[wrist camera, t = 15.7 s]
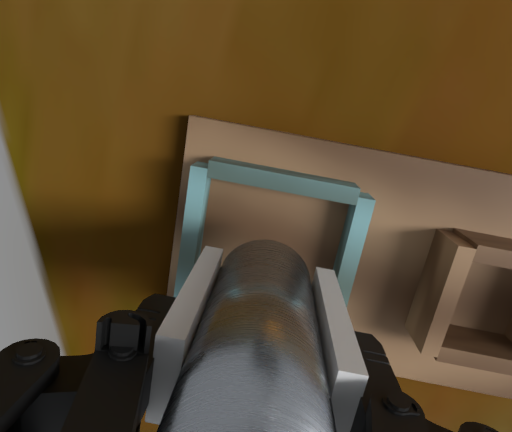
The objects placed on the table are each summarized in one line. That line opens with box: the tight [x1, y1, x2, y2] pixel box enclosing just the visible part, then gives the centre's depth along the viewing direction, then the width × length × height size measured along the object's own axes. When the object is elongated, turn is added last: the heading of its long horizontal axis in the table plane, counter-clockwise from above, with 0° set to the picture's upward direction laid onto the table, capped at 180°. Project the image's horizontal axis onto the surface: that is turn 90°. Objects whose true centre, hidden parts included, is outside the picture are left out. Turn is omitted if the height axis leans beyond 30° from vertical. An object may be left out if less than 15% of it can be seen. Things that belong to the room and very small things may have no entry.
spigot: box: [157, 239, 337, 432], centre depth 11 cm, size 4×4×11 cm
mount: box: [167, 115, 512, 399], centre depth 19 cm, size 12×20×4 cm, turn 80°
